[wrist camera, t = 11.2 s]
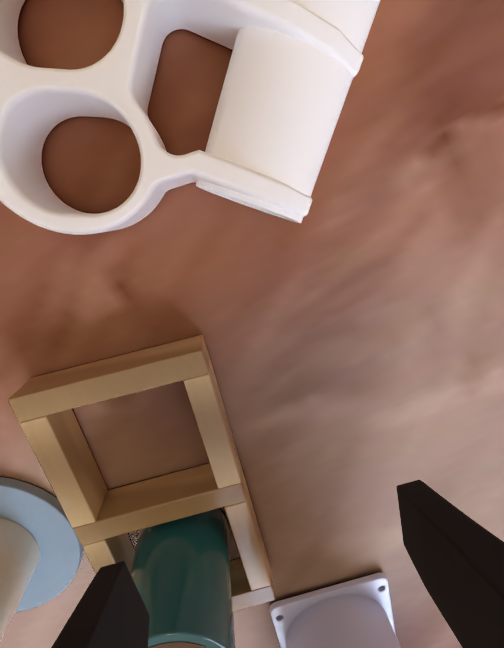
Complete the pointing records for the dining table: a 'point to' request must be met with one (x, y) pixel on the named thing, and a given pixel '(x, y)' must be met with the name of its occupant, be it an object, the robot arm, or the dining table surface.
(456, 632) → the robot arm
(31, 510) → the coaster
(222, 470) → the cup holder
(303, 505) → the dining table surface
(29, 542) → the cream cup
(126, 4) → the ring tube bracket
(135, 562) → the teal cup
